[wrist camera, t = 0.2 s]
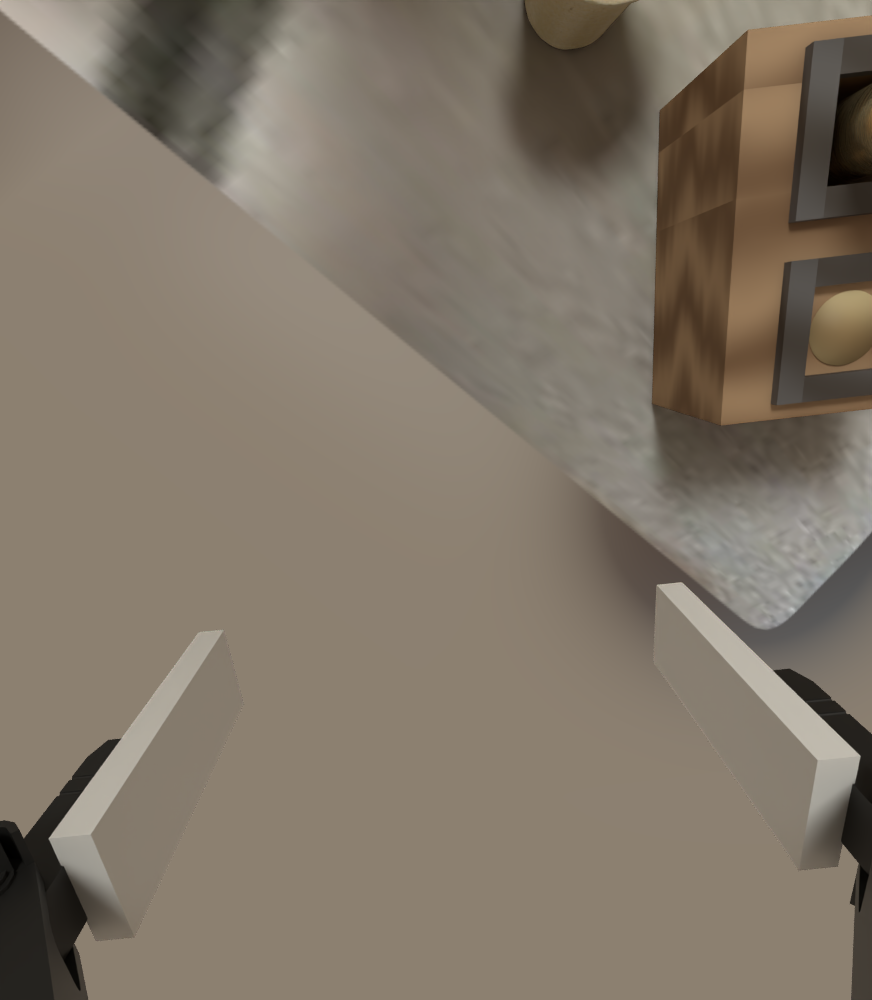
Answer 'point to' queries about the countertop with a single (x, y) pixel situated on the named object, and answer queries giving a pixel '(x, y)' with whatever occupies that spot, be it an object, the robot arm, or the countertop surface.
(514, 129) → the countertop surface
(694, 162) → the socket block
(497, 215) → the countertop surface
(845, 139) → the peg
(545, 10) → the flower pot
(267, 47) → the countertop surface
